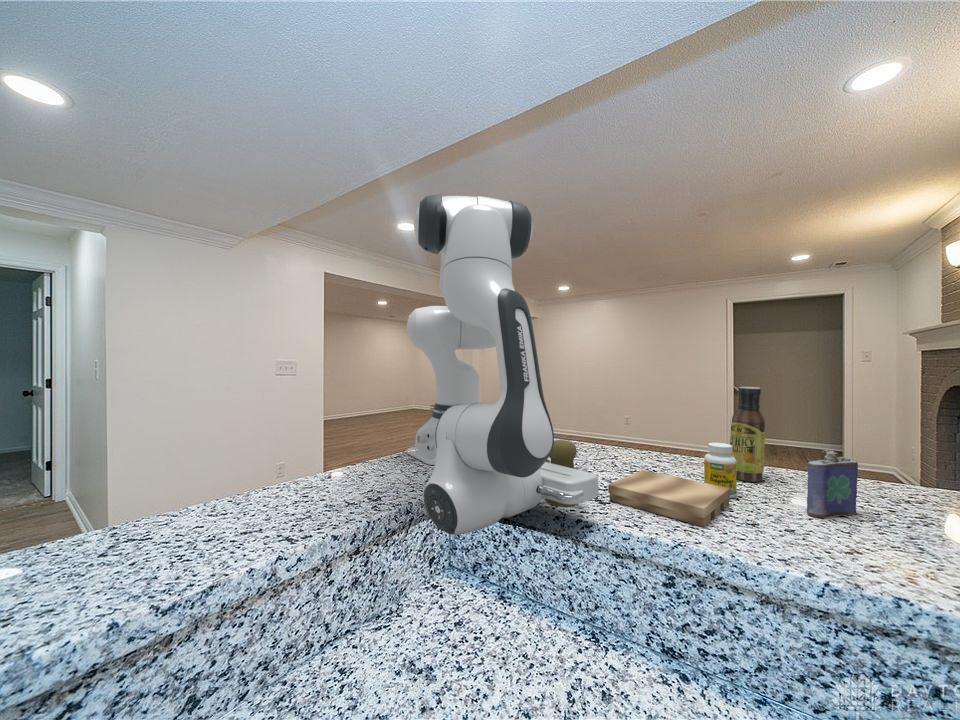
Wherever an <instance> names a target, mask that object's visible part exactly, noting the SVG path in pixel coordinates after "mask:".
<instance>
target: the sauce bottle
mask: <svg viewBox="0 0 960 720" xmlns="http://www.w3.org/2000/svg"><path fill="white" fill-rule="evenodd" d="M761 391H762V388H761V387H758V386H738V390H737V393H738V395H739V396H738V404H737V406H738V407H737V409H736V410H735V412H734V414H733V415H732V418H731V423H730V438H729V445H732V454H731V456H733V457H734V458H735V459H736V466H737V472H736V480H740V481H743V482H749V483H760V482H762V480H763V475H764V472H765V471H764V470H765V469H764V468H765V467H764V466H765V446H766V445H765V444H766V420H765V417H764V415H763V413H761V411H760V407H761V406H760V396H761V393H762V392H761Z"/></svg>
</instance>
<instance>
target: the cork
mask: <svg viewBox="0 0 960 720" xmlns="http://www.w3.org/2000/svg"><path fill="white" fill-rule="evenodd" d="M576 456H577V446H576V445H575V442H572V441H570V440H565V439H557V440H556V439H554V444H553V449H552V451H551V454H550V456H549V457H548V458H550V463H552V464H556V465H560V466H565V467H569V468H573V469H575V465H574V461H575V458H576ZM544 501H545V502H546V503H547V504H549V505H551V506H554V507H555V506H556V507H559V508H560V507H561V508H570V507H575V506H578V504H563V503H559V502H556V501H553V500H550V499H546V498H544Z"/></svg>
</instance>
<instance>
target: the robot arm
mask: <svg viewBox="0 0 960 720" xmlns="http://www.w3.org/2000/svg"><path fill="white" fill-rule="evenodd" d="M415 211H416V212H415V215H414V219H413V229H414V234H415V237H416V239H417V241H418V245H419V247H420V248H421V249H423V251H425V252H428V253H431V254H434V255H439V254H441V255H440V256H441V257H440V269H439V270H440V271H439V283H438V284H439V290H440V292H441V293H442V296H443V299H444V302H445V305H429V306H423V307H418V308H415V309H413V311H412V312H411V313H410V314H409V316H408V319H407V322H406V332H407V336H408V339H409V340H410V342H411V343H412V344H413V345H414V346H415V347H417V348H418V350H420V351H421V352H422V353H424V355H425V356H426V357H427V360H428V361H429V362H430V364H431V366H432V370H433V373H434V377H435V379H434V380H435V394H436V397H435V398H436V401H435V402H436V403H434V404H433V405H429V407H431V408H429V409H430V411H432V412H431V413H432V414H431V418H429V420H428V421H427V422H425V423H424V424H423V425H422V426H421V427H420V428H419V429H418V430H417V431H416V434H415V440H414V441H415V444H414V445H415V446H411V447H409V448H406V451H405V453H406V452H407V453H406V454H407V455H409V456H411V457H413V458H415V459H417V460H419V461H421V462H422V463H425V464H426V465H429V466H430V465H431V466H433V470H432V473H431V476H430V477H429V479H428V481H427V482H426V484H425V486H424V489H423V503H424V508H425V511H426V514H427V515H428V518H429V519H430V520H431V521H432V524H434V526H436V527H437V529H439V530H441V531H442V532H444V533H446V534H449V535H453V536H455V535H456V536H458V535H465V534H469V533H473V532H476V531H479V530H482V529H485V528H488V527H490V526H493V525H495V524H496V523H498V522H499V521H500V520H501V519H502V518H512V517H513V516H514V517H515V516H517V515H519V514H521V513H524V512H526V511H529V510H531V509H533V508H536V506H537V505H538V504H539V503H540V502H541V499H542V498H543V499H545V498H546V499H550V500H553V501H556V502H559V503H563V504H577V505H578V504H581V503H585V502H588V501H591V500H593V499H596V498H598V495H599V478H598V476H597V474H596V473H593V472H590V471H589V472H588V468H587V467H584V466H583V467H582V466H576V467H574V469H573V468H569V467H565V466H560V465H556V464H552V463H550V461H551V459H549V458H550V457H549V456H550V454H551V451H552V449H553V444H554V441H555V433H554V428H553V427H554V426H553V424H552V420H551V417H550V413H549V411H548V407H547V405H546V401H545V397H544V396H545V395H544V390H543V385H542V378H541V371H540V365H539V358H538V357H539V356H538V352H537V345H536V338H535V332H534V326H533V320H532V316H531V313H530V312H531V311H530V308H529V305H528V303H527V301H526V299H525V297H524V296H523V295H522V294H521V293H520V292H518V291H515V287H514V283H513V276H512V275H513V273H512V271H513V270H512V269H513V268H512V266H513V263H512V262H513V261H512V260H513V259H516V258H517V259H518V258H519V257H521V256H523V255H524V254H525V253H526V252H527V250H528V248H529V245H530V242H531V241H532V238H533V231H534V230H533V220H532V214H531V211H530V210H529V207H527V205H525V204H523V203H522V202H518V201H515V200H509V201H506V200H503V199H498V198H493V197H488V196H480V195H476V196H469V195H445V196H443V195H442V194H441V193H440V194H430V195H426V196H425V197H423V199H422V200H420V201H419V205H418V206H417V210H415ZM492 348H495V350H496V357H497V358H496V359H497V366H498V377H499V382H500V383H499V385H500V396H499V399H498V400H497V401H493V402H491V401H490V402H480V375H479V372H478V370H477V369H475V367H473V366H472V365H470V364H468V363H466V362H464V361H462V360H460V359H459V358H458V357H457V355H456V351H457V350H487V349H492ZM416 449H418V450H416ZM411 450H415V451H411ZM408 451H411V452H408Z"/></svg>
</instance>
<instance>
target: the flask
mask: <svg viewBox="0 0 960 720" xmlns="http://www.w3.org/2000/svg"><path fill="white" fill-rule="evenodd" d="M824 452H826V454H825V455H824V459H820V460H812V461H811V460H810V461H808V462H807V499H806V514H807V515H808V516H811V517H813V518H815V519H816V518H822V519H828V518H834V517H833V516H839V517H840V516H843V517H844V515H845V516H852V515H853V516H855V515H854V514H856V515H857V507H856V506H857V495H858V489H857V487H858V470H859V469H858V468H859V465H858V464H859V463H858V461H856V460H852V459H851V458H848V457H844V456H839V457H837V456H836V455H838V452H835V451H834V450H831V449H823V450H822V453H824Z"/></svg>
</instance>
